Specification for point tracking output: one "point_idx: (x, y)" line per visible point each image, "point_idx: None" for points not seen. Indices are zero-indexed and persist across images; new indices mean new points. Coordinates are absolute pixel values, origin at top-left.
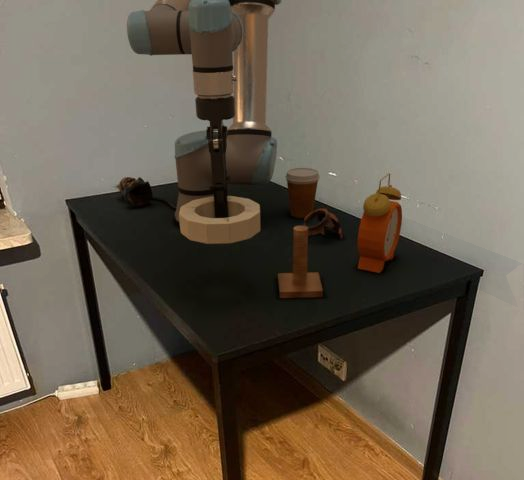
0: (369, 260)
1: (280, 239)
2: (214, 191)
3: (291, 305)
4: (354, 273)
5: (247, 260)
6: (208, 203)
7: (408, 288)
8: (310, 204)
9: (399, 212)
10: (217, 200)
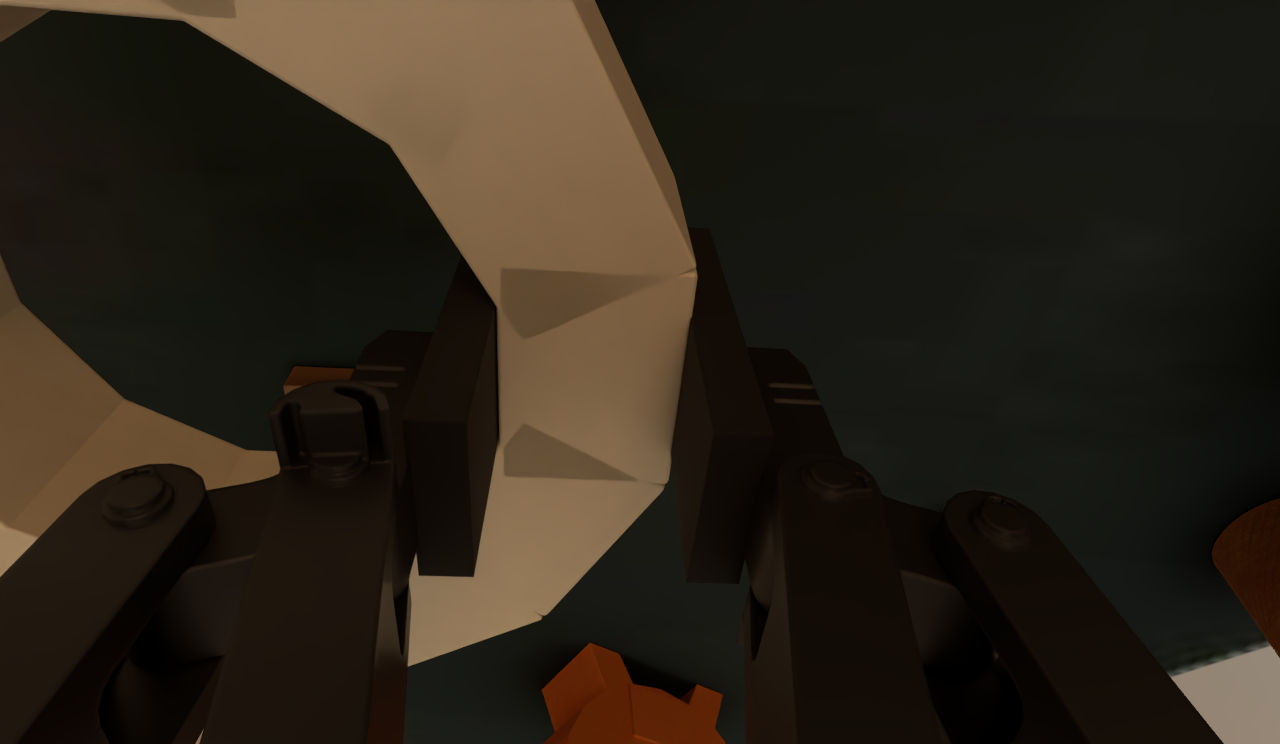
0: (581, 700)
1: (999, 424)
2: (410, 404)
3: (228, 404)
4: (547, 629)
5: (775, 246)
6: (448, 223)
7: (416, 731)
8: (1252, 615)
9: None
10: (355, 372)
